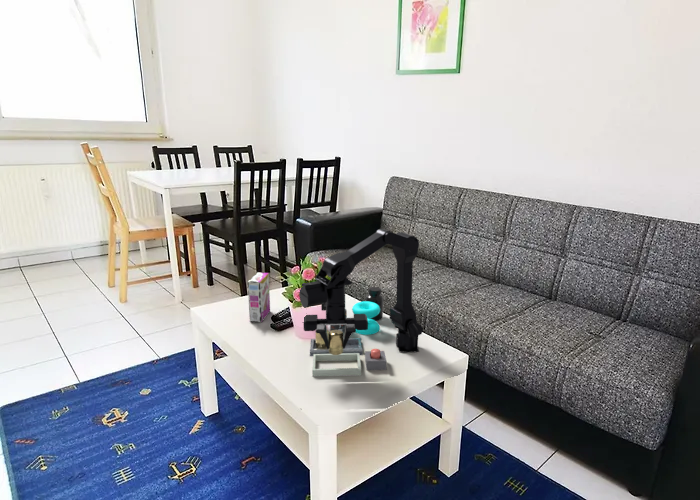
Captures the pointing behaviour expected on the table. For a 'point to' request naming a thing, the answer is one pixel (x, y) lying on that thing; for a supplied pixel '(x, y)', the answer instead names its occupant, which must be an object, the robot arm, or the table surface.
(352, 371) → the tray
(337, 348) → the billet
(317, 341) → the cylinder
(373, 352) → the button
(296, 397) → the table surface
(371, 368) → the grey square socket block
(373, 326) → the donuts
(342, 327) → the supplement bottle
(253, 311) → the candy bar box
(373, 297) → the supplement bottle
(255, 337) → the table surface
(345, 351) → the grey flat frame
